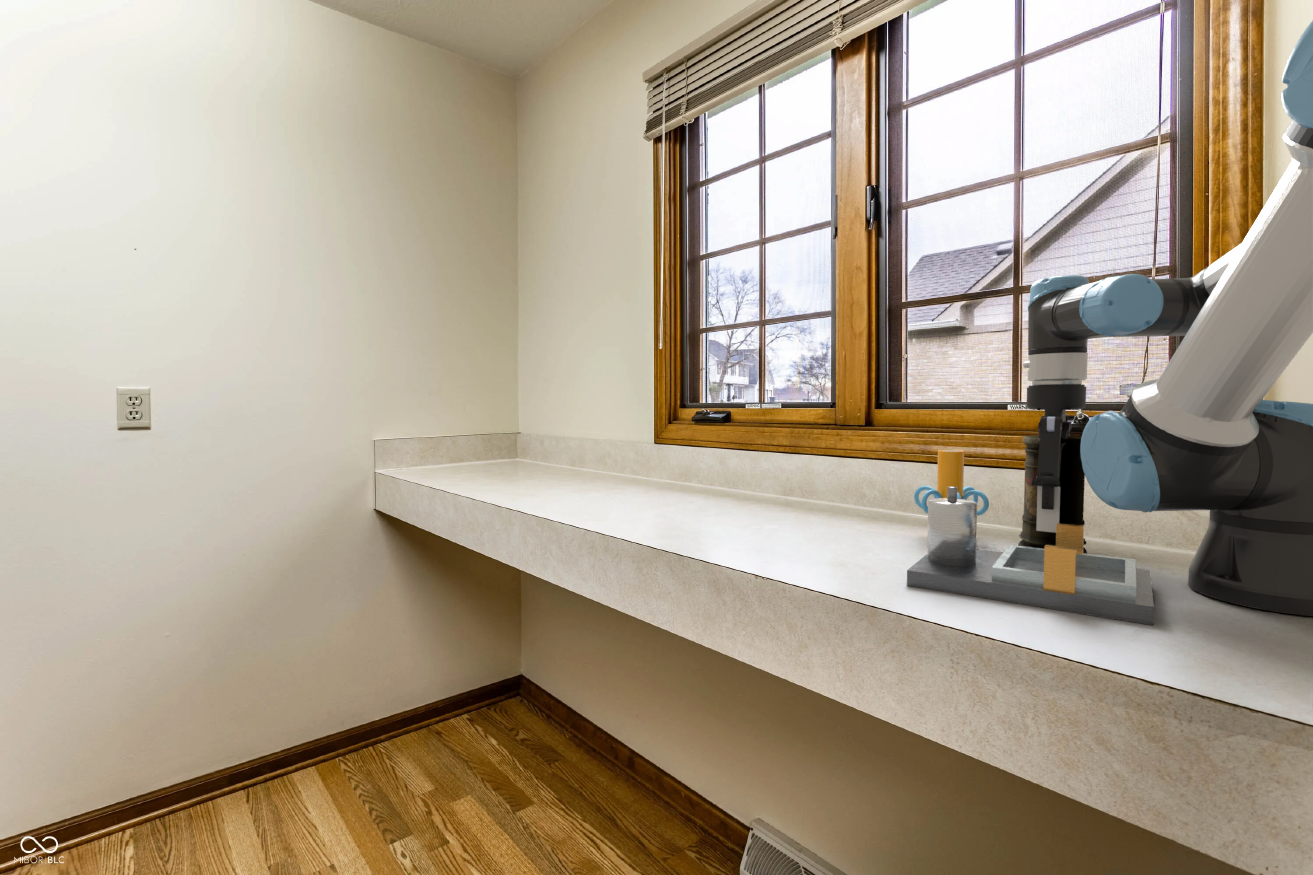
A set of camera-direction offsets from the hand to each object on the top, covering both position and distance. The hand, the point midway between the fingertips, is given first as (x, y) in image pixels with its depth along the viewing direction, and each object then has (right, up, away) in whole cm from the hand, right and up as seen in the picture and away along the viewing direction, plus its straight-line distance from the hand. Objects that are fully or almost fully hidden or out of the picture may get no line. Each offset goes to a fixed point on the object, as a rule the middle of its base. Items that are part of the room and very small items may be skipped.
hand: (1052, 523), depth 96 cm
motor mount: (-13, -6, -15) cm, 21 cm away
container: (0, -5, 0) cm, 5 cm away
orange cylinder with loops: (-10, -4, +12) cm, 16 cm away
